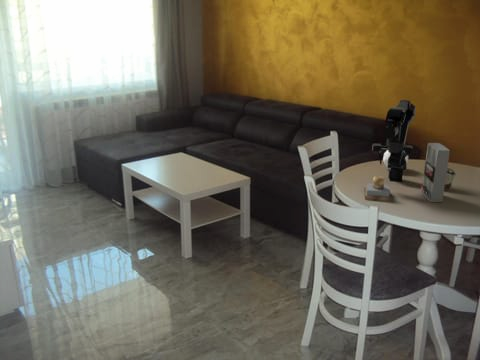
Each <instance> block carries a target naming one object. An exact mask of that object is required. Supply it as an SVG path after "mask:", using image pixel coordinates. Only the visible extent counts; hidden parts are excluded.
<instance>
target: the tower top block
mask: <svg viewBox="0 0 480 360" xmlns="http://www.w3.org/2000/svg"><path fill="white" fill-rule="evenodd" d="M365 188H366V190H367V195H371V196H384V197H389V190H390V187H389V184H384V188H383V189H374V188H373V183H366V187H365Z"/></svg>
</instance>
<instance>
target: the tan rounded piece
mask: <svg viewBox="0 0 480 360" xmlns="http://www.w3.org/2000/svg"><path fill="white" fill-rule="evenodd" d="M372 184H373V188H374V189H383V188H384V185H385V177H384V176H381V175H380V176H379V175H376V176H373V178H372Z"/></svg>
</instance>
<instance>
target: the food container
mask: <svg viewBox="0 0 480 360" xmlns="http://www.w3.org/2000/svg"><path fill="white" fill-rule="evenodd" d="M454 176H455V177H456V171H455V170H454V169H453V168H450V167H447V174H446V180H445V187H444V191H451V187H452V184H453V180H454V178H455V177H454Z"/></svg>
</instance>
